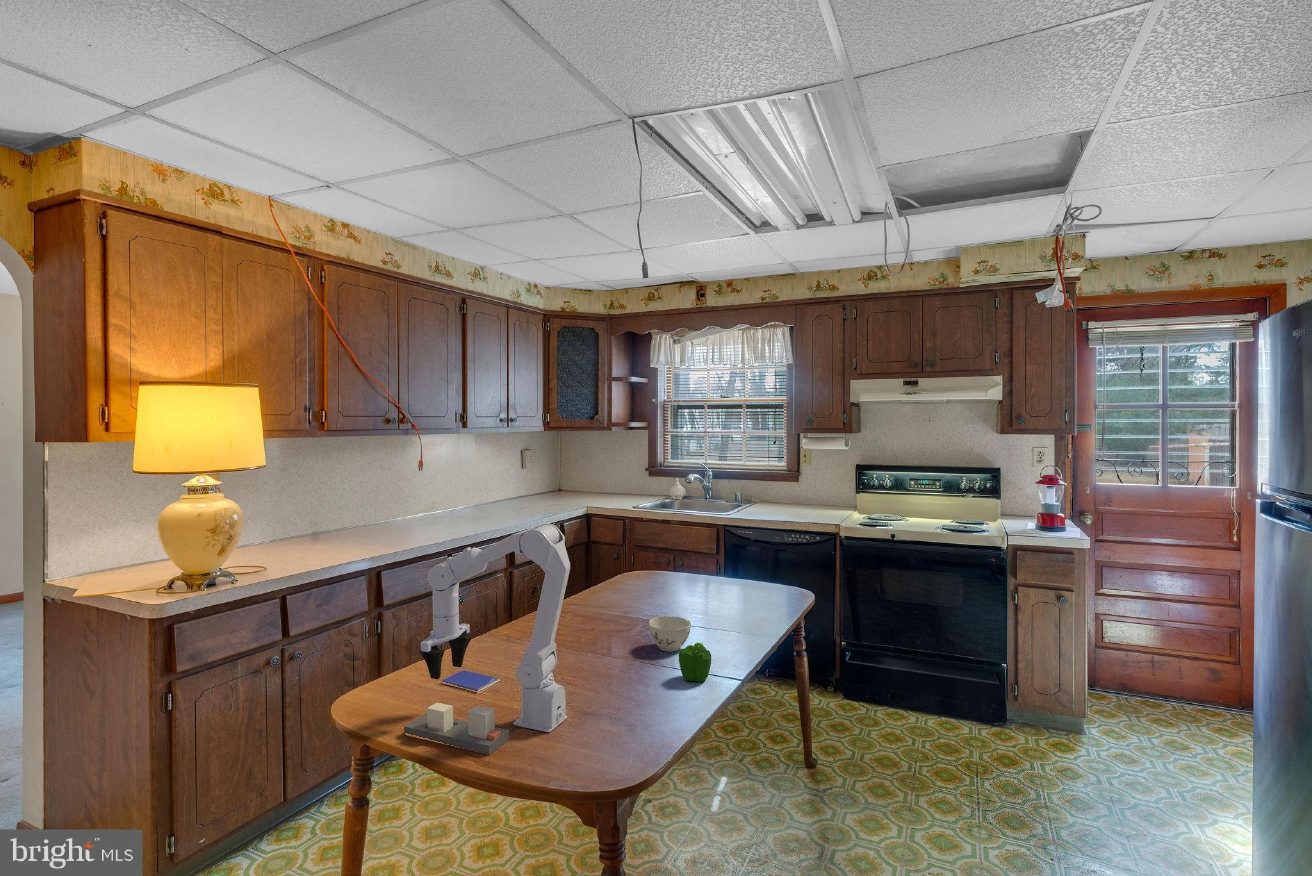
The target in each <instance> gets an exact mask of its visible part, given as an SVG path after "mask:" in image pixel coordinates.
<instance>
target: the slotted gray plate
mask: <svg viewBox="0 0 1312 876" xmlns="http://www.w3.org/2000/svg"><path fill="white" fill-rule="evenodd" d="M467 716H468V717H467V721H466V720H462V719H457V718H453V727H452V728H451V729H449V730H448V731H446V732H443V731H438V730H434V729H429V728H428V723H427V712H426V713H425V714H422V715H420V716H419V717H418V718H416V719H415V720H412V721H411V722H409V723H408V724H406V725H405V726H404V725H403V729H404V730H403V732H404V733H408V734H411V735H416V736H419V737H423V738H428V739H430V740H435V741H438V742H442V743H444V744H449V745H453V746H457V747H460V748H464V749H467V750H466V751H468V750H470V751H469V752H473V751H476V752H475V753H477V752H479V753H478V754H481V753H482V755H486V756H490V755H492V754H493V753H494V752H495V751H497V750H498V749H499V748H501V747H502V746H504V744H506V743H507V742H509V740H510V729H505V728H499V727H496V725H495V708H490V707H485V706H480V705H476V706H475V707H473V708H471V709H470V710H468V711H467ZM505 742H506V743H505ZM500 746H501V747H500ZM460 748H459V749H460ZM464 749H463V750H464ZM496 749H497V750H496ZM493 751H494V752H493ZM491 753H492V754H491Z"/></svg>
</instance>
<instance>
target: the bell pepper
mask: <svg viewBox="0 0 1312 876" xmlns="http://www.w3.org/2000/svg"><path fill="white" fill-rule="evenodd" d="M678 663H679V667H680V672H681V675H682V677H683V679H684V680H685V681H686V682H693V681H695V682H697V683H698V682H699V683H701V682H705V681H706V680H707V678H708V677H709V673H710V670H711V667H712V666H711V665H712V654H711V651H710V650H709V649H707V648H706V647H705V646H704V643H702V642H700V641H699V642H696V643H694V645H693V644H692V645H691V644H689V645H687V646H686V647H684V648H679V650H678Z"/></svg>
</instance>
